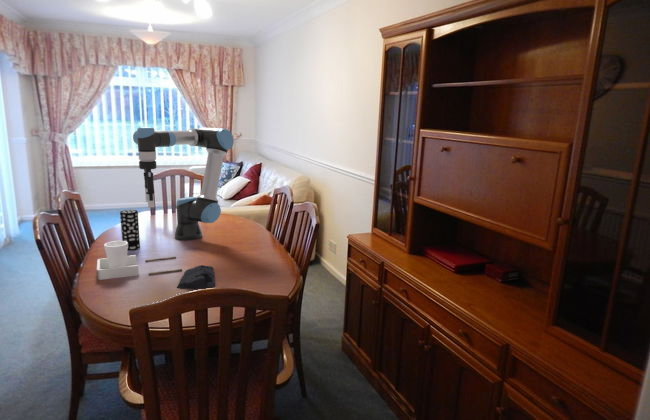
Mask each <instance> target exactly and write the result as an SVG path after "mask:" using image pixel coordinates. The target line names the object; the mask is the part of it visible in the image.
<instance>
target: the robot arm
mask: <svg viewBox="0 0 650 420" xmlns="http://www.w3.org/2000/svg"><path fill="white" fill-rule="evenodd" d="M132 140H133V142H134V143H135V144H136V145H137V151H138V153H137V154H136V155H137V156H138V160H139V161H138V168H139V169H140V170H143V171H144V172H143V178H144V188H145V189H144V191H145V203H147V204H148V206H147V207H148V208H155V190H154V189H155V188H154V172H152V170H156V169H157V161H156V160H157V155H156V154H157V151H156V150H157V149H156V148H166V147H168V148H171V147H173V146H175V145H178V146H180V145H184V146H185V145H188V146H190V147H200V148H206V152H207V157H206V164H205V170H204V173H203V174H204V175H203V180H202V185H201V190H200V195H197V196H188V197H187V196H186V197H181V198H178V199H177V200H176V206H175V209H176V222H177V223H176V228H175V231H174V238H175V239H177V240H181V241H189V240H190V241H191V240H192V241H193V240H197V239H200V238H202V237H203V233H202V229H201V226H200V224H199V222H200V223H204V224H213V223H216V221H218V220H219V219H220V216H221V213H222V208H221V206H220V204H219V200H218V198H217V194H218V189H219V182H220V179H221V173H222V166H223V162H224V157H225V156H226V155H228V150H230V149H232V148H233V145H234V140H235V139H234V136H233V134H232V132H231V131H230V129H227V128H222V127H200V128H190V129H188V130H159V129H158V130H155V128H154V127H152V126H151V127H149V126H144V127H143V126H140V127H138V128H137V130H135V131H134V132H133V135H132Z"/></svg>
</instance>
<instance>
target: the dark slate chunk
mask: <svg viewBox="0 0 650 420" xmlns="http://www.w3.org/2000/svg"><path fill="white" fill-rule="evenodd" d="M215 281H216V279H215V272H214V266H211V265H204V264H203V265H202V264H201V265H198V266H197V265H196V266H195V267H191V268H188V269H186V270H185V271H184V272H183V275H182V276H181V278H180V279H179V283H178V284H177V287H176V289H180V290H188V289H189V290H202V289H209V288H214V287H215V286H216V285H215V284H216V282H215Z"/></svg>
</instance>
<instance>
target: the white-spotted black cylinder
mask: <svg viewBox="0 0 650 420" xmlns="http://www.w3.org/2000/svg"><path fill="white" fill-rule="evenodd" d="M119 214H120V217H119V218H120V229H121V230H120V232H121V241H126V242H128V251H127V252H132V251H133V252H134V251H138V250H139V249H141V239H140V228H139V227H140V225H139V213H138V210H136V209H125V210H120V211H119Z"/></svg>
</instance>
